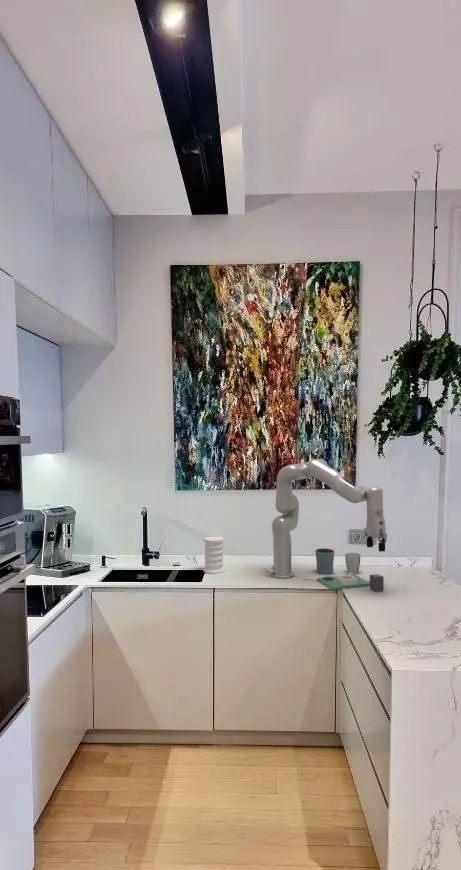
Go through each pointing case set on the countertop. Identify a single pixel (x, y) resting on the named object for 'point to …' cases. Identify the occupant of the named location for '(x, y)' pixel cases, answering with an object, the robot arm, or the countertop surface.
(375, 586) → the plug
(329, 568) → the dark grey open cylinder
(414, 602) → the countertop surface
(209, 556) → the decorative container
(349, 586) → the board
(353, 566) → the cup
